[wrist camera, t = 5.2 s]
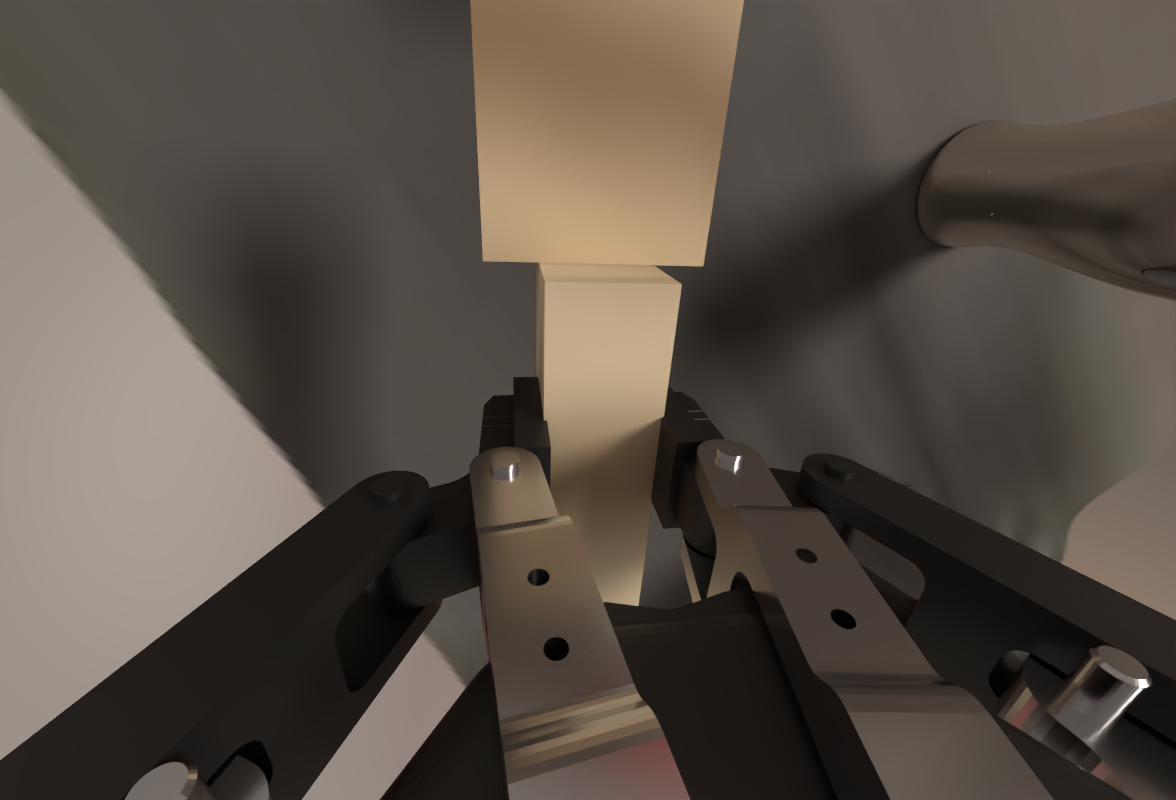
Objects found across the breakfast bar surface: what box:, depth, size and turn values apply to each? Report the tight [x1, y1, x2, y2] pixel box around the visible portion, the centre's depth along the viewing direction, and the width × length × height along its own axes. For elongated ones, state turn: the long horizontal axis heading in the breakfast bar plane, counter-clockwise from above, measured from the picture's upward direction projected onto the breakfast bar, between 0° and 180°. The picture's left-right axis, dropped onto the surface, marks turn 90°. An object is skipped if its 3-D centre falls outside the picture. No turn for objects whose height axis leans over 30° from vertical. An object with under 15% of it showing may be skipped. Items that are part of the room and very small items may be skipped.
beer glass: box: [917, 99, 1176, 302], centre depth 18 cm, size 7×7×15 cm
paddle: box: [470, 0, 744, 606], centre depth 11 cm, size 16×5×3 cm, turn 177°
